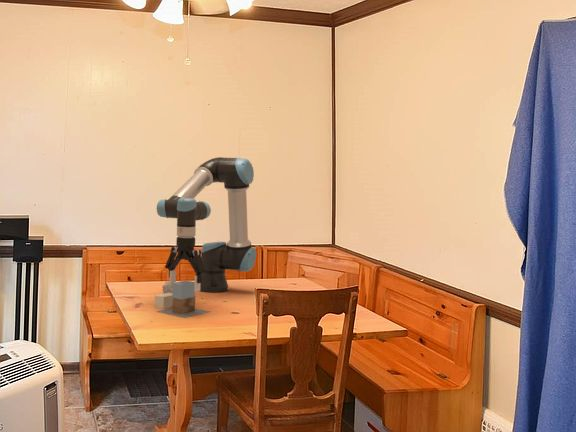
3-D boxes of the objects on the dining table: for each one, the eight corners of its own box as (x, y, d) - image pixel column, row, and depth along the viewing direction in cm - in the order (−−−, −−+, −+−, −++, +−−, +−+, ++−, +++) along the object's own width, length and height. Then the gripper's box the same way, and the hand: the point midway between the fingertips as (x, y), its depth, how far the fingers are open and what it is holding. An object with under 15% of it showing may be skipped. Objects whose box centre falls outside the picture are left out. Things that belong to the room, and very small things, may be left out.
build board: (182, 307, 294) (182, 305, 294) (211, 314, 285) (211, 311, 285) (155, 313, 281) (155, 311, 281) (184, 320, 272) (184, 318, 272)
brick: (168, 306, 296) (168, 292, 296) (176, 308, 293) (177, 294, 293) (154, 309, 290) (155, 295, 289) (163, 311, 287) (163, 297, 286)
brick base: (185, 309, 288) (186, 294, 287) (194, 311, 285) (195, 296, 284) (172, 312, 281) (172, 297, 281) (181, 314, 278) (181, 299, 278)
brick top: (185, 294, 287) (186, 280, 286) (195, 296, 284) (195, 282, 284) (172, 297, 280) (172, 282, 280) (181, 299, 278) (181, 284, 277)
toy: (153, 287, 296) (169, 274, 310) (159, 313, 299) (175, 298, 313) (166, 287, 294) (181, 273, 307) (172, 312, 297) (187, 298, 310)
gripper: (157, 234, 284) (156, 285, 286) (203, 240, 270) (201, 294, 272) (170, 232, 291) (169, 282, 293) (215, 239, 277) (214, 291, 279)
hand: (184, 288), depth 283 cm, fingers open, 13 cm apart
